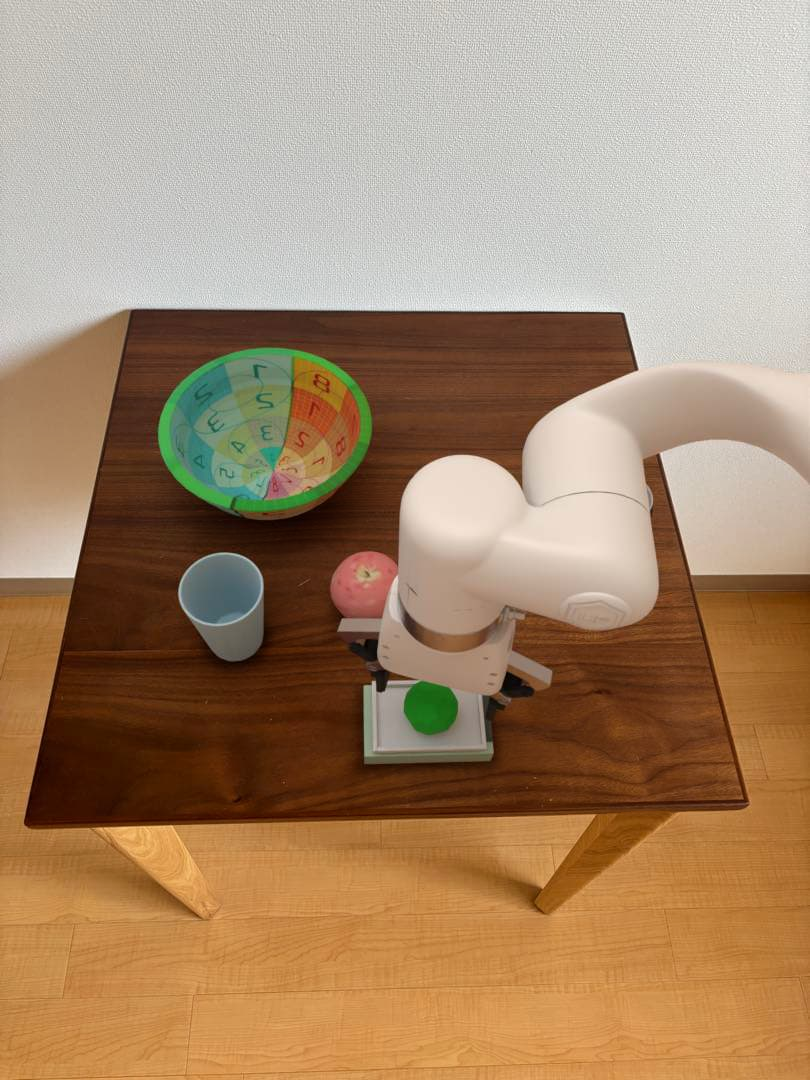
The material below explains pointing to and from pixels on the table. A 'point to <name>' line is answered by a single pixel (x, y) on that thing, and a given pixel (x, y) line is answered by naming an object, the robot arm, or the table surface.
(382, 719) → the scale
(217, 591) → the cup
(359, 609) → the apple
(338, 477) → the bowl
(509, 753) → the table surface
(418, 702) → the polyhedron
